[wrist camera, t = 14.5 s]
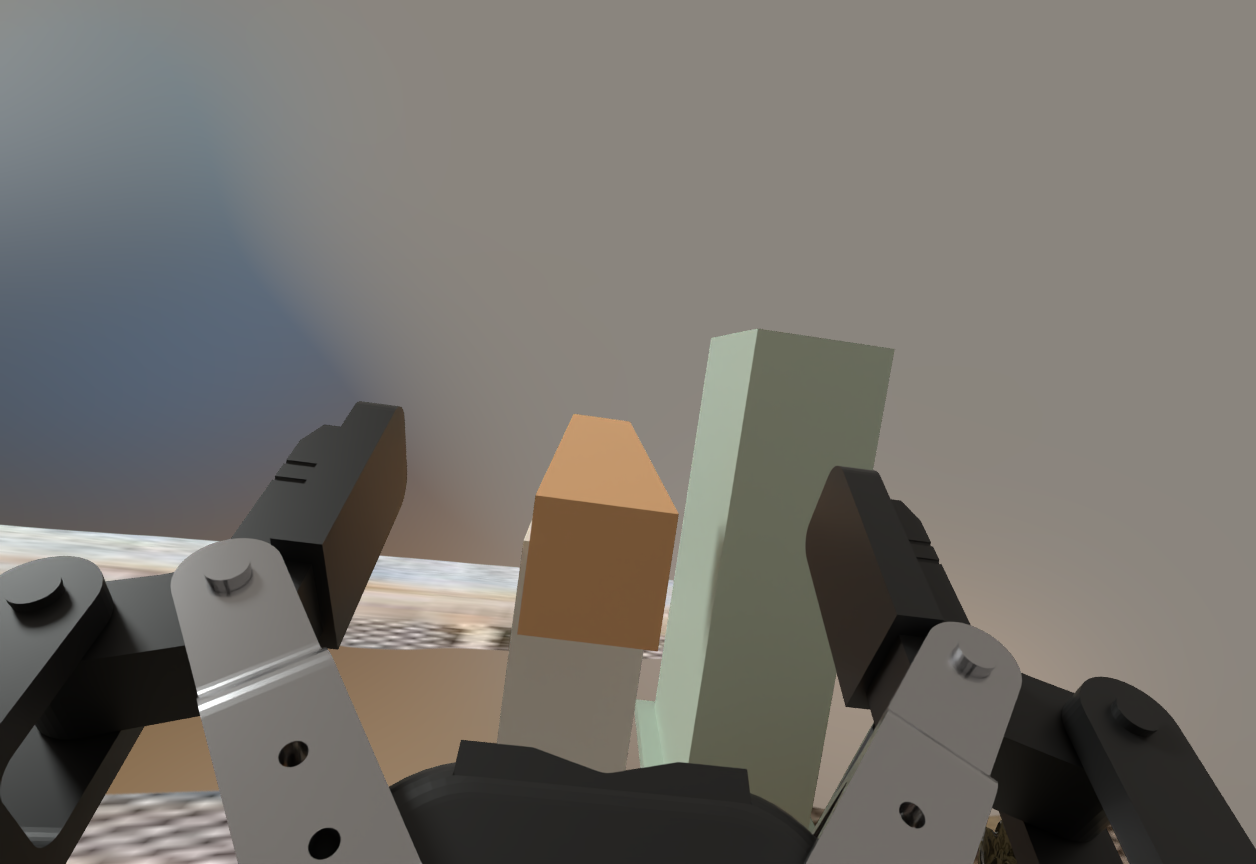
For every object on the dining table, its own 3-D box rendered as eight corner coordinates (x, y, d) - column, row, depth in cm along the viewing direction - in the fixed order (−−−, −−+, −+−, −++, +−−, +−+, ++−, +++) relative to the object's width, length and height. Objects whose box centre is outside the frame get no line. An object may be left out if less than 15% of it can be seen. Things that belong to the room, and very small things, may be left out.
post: (453, 1076, 27) (523, 540, 25) (491, 886, 37) (544, 490, 35) (577, 1086, 28) (657, 557, 26) (582, 895, 38) (640, 502, 36)
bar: (517, 634, 17) (535, 495, 17) (566, 469, 43) (573, 413, 42) (657, 651, 17) (678, 514, 17) (621, 477, 43) (629, 421, 43)
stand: (650, 863, 41) (735, 323, 38) (634, 710, 59) (691, 335, 56) (830, 881, 42) (928, 352, 39) (760, 724, 59) (823, 355, 56)
